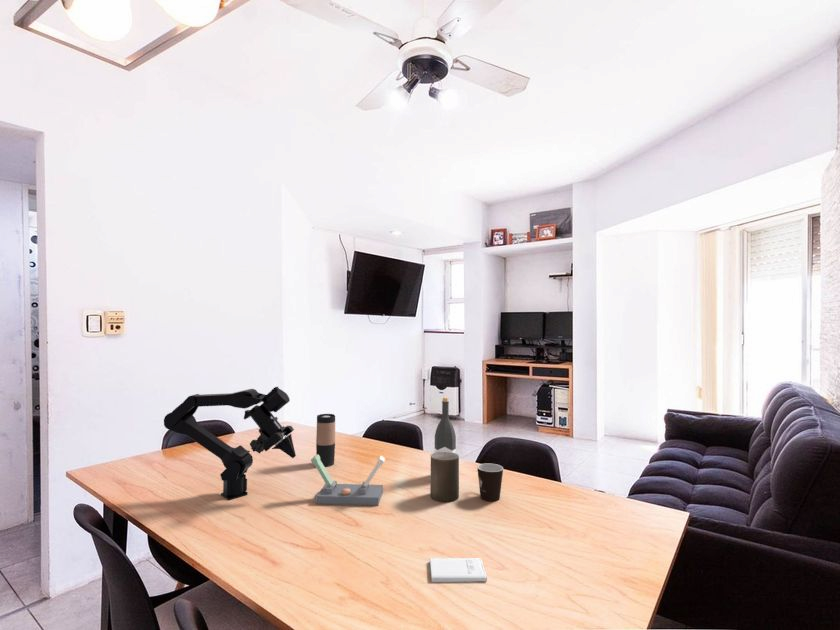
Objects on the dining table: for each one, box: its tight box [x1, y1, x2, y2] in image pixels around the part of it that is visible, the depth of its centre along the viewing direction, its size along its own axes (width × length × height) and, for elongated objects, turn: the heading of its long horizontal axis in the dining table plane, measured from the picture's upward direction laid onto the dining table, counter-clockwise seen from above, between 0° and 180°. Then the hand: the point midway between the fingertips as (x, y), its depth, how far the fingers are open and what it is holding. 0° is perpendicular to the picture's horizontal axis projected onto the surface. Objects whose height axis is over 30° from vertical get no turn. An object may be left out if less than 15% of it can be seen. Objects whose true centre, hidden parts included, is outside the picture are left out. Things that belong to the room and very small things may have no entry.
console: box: [315, 480, 384, 507], centre depth 141 cm, size 20×11×4 cm, turn 88°
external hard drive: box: [429, 557, 488, 583], centre depth 99 cm, size 2×8×12 cm
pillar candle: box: [429, 452, 460, 503], centre depth 143 cm, size 10×10×15 cm
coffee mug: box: [476, 462, 504, 503], centre depth 144 cm, size 12×9×10 cm
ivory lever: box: [361, 455, 386, 489], centre depth 141 cm, size 2×4×12 cm
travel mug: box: [315, 413, 336, 468], centre depth 176 cm, size 8×8×20 cm
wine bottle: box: [434, 396, 457, 454], centre depth 162 cm, size 8×8×30 cm
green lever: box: [310, 454, 336, 489], centre depth 141 cm, size 2×4×12 cm
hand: (294, 457), depth 142 cm, fingers closed
